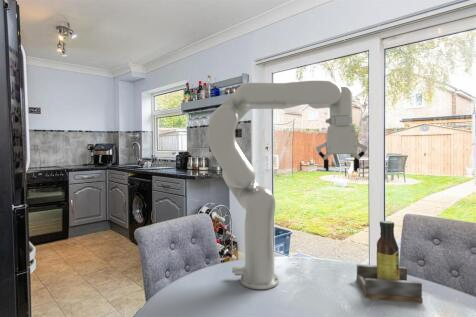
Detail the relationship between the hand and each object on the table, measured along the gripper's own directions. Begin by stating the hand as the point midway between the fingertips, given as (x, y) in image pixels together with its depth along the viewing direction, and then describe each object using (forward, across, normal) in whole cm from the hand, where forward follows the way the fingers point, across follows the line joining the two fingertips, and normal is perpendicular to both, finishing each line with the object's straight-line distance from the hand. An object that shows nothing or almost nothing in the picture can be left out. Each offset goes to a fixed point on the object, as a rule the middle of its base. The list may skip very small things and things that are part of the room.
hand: (341, 170), depth 108 cm
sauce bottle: (+35, +12, -12) cm, 39 cm away
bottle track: (+36, +12, -12) cm, 40 cm away
